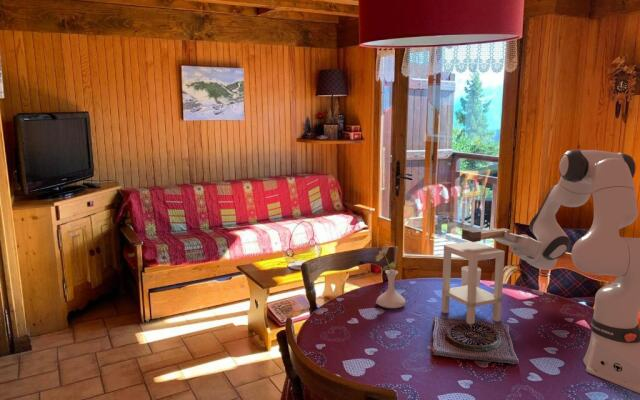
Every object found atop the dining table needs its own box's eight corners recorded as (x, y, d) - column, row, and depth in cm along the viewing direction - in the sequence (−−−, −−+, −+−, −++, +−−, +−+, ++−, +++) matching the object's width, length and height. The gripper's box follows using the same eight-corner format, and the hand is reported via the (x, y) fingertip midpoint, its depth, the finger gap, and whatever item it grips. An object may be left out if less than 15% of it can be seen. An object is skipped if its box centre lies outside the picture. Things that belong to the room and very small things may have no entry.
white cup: (482, 294, 206) (483, 271, 205) (463, 294, 206) (464, 271, 205) (476, 288, 214) (477, 265, 212) (458, 288, 214) (459, 265, 213)
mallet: (512, 236, 183) (513, 227, 182) (472, 242, 175) (473, 232, 175) (500, 233, 188) (501, 224, 188) (461, 238, 181) (462, 229, 180)
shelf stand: (500, 320, 180) (504, 251, 176) (469, 327, 174) (473, 255, 170) (470, 305, 194) (473, 241, 190) (441, 311, 189) (443, 245, 184)
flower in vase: (391, 298, 203) (393, 238, 198) (411, 306, 193) (413, 244, 189) (367, 305, 195) (367, 243, 191) (386, 314, 186) (387, 249, 182)
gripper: (506, 233, 199) (484, 219, 194) (548, 245, 181) (524, 229, 175) (499, 247, 199) (477, 233, 193) (540, 260, 181) (517, 245, 175)
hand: (500, 231), depth 184 cm, fingers closed on mallet, 3 cm apart
